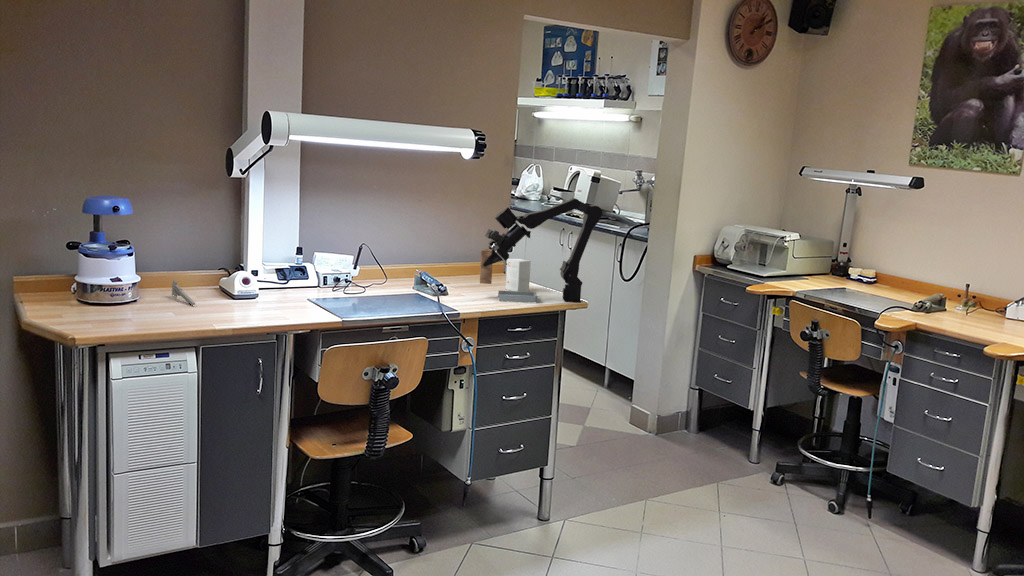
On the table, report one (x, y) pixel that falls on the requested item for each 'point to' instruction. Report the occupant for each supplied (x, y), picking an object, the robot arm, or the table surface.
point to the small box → (518, 275)
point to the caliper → (180, 293)
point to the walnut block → (487, 270)
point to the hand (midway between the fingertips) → (482, 264)
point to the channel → (517, 296)
